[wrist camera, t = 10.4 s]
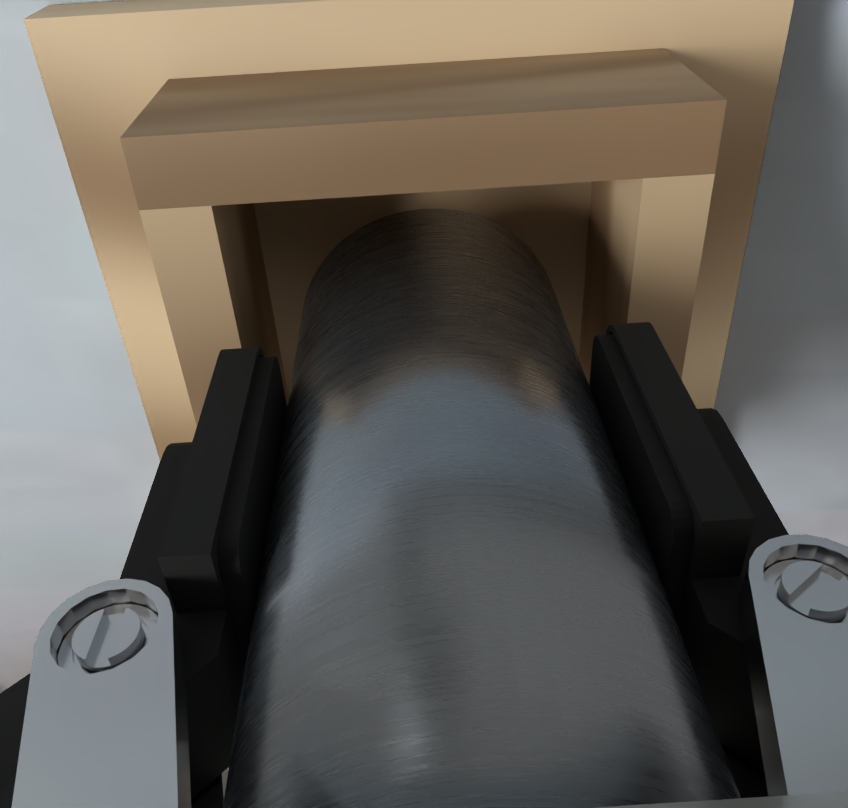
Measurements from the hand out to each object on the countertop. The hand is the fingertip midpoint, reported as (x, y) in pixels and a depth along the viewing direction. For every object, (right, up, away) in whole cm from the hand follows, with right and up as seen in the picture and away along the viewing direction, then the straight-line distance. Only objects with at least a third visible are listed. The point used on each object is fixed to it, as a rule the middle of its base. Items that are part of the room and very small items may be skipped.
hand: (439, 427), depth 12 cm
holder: (0, 0, +7) cm, 7 cm away
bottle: (0, +2, +2) cm, 3 cm away
